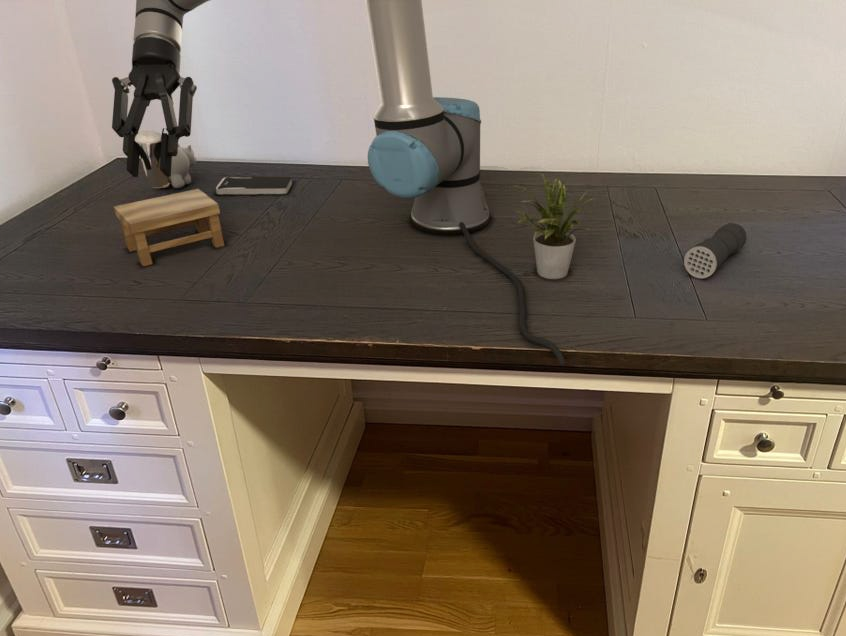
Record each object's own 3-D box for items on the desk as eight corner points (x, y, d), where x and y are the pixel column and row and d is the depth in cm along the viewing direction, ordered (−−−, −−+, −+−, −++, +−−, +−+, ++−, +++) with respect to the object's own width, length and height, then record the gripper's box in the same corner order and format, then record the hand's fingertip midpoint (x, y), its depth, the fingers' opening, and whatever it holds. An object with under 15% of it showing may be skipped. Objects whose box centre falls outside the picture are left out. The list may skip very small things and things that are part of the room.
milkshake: (168, 191, 121) (155, 131, 116) (139, 188, 122) (125, 128, 117) (183, 182, 125) (171, 124, 120) (155, 179, 126) (142, 121, 121)
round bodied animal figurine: (212, 174, 164) (204, 137, 159) (181, 192, 154) (172, 152, 150) (184, 172, 166) (176, 134, 161) (152, 189, 156) (142, 150, 151)
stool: (226, 245, 131) (218, 204, 126) (142, 267, 123) (129, 223, 118) (207, 229, 137) (198, 188, 133) (125, 248, 129) (113, 206, 125)
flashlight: (717, 244, 131) (722, 216, 129) (745, 252, 129) (752, 223, 126) (681, 273, 121) (687, 243, 118) (712, 282, 118) (718, 252, 116)
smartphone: (286, 188, 153) (214, 188, 152) (286, 194, 153) (215, 195, 153) (292, 176, 159) (223, 177, 158) (292, 182, 160) (224, 183, 159)
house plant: (493, 259, 126) (494, 167, 117) (564, 247, 130) (570, 158, 121) (526, 294, 115) (529, 196, 106) (602, 280, 119) (612, 185, 110)
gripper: (216, 61, 128) (210, 182, 123) (114, 62, 127) (105, 184, 122) (202, 34, 120) (195, 161, 115) (94, 34, 119) (82, 163, 115)
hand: (148, 172), depth 119 cm, fingers closed on milkshake, 5 cm apart
